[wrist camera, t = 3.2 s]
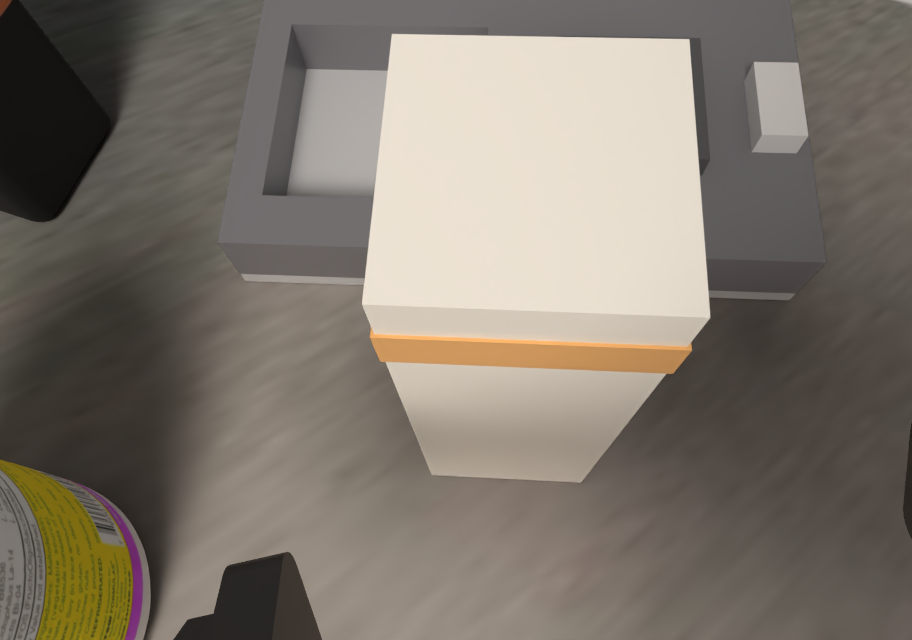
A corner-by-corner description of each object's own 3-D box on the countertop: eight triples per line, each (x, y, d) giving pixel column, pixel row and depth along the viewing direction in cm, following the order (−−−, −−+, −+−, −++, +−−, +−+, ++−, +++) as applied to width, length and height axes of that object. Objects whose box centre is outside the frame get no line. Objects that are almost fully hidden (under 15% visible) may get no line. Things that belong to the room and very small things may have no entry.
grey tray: (759, 51, 24) (799, -28, 21) (789, 300, 21) (840, 248, 18) (287, 43, 25) (259, -35, 22) (245, 280, 22) (206, 228, 19)
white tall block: (581, 339, 21) (693, 36, 10) (583, 484, 19) (715, 321, 8) (439, 334, 21) (388, 31, 10) (429, 476, 20) (357, 307, 9)
